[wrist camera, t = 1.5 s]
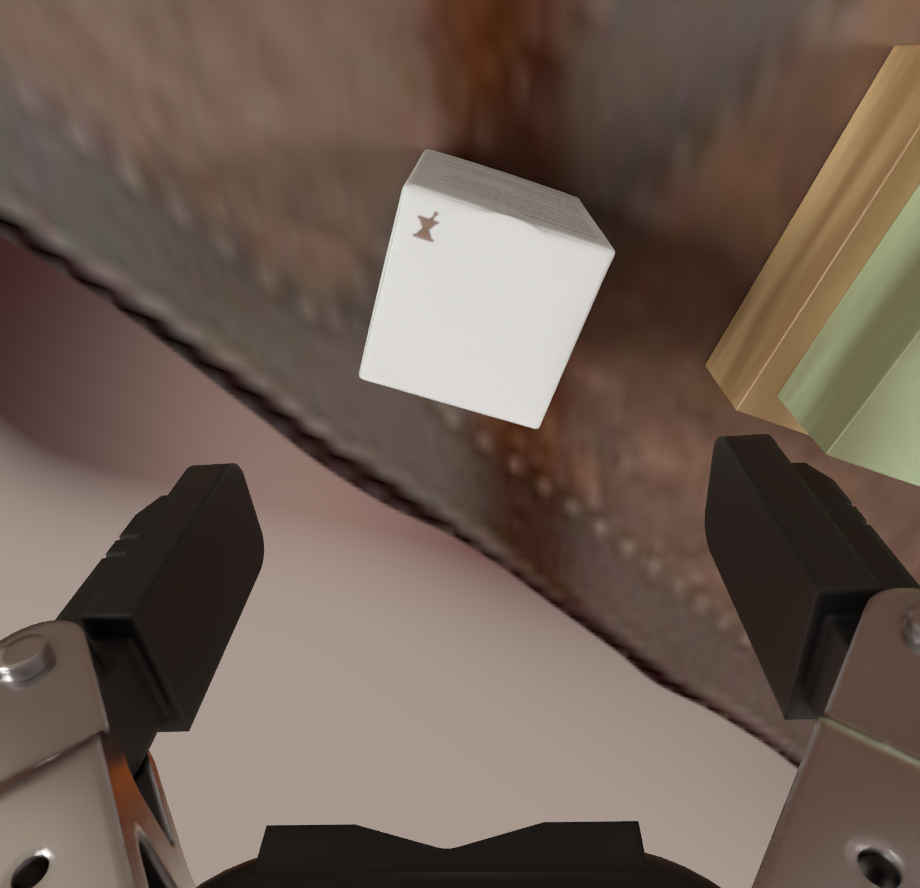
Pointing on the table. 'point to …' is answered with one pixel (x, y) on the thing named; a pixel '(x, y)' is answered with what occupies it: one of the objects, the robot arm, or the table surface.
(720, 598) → the table surface
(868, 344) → the block stack
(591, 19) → the table surface
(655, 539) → the table surface
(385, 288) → the product box
